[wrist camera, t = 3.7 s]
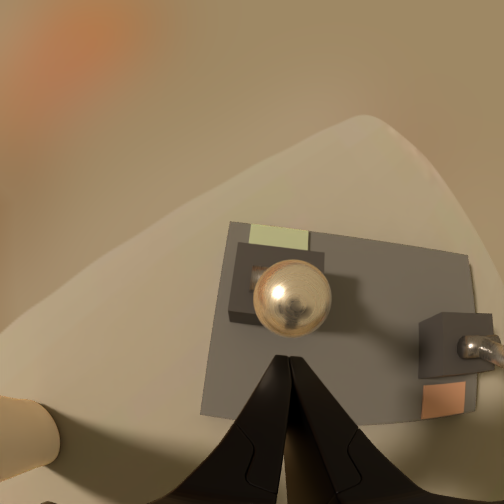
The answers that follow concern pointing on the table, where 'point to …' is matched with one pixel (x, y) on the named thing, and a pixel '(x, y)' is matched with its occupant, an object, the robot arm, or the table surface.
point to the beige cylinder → (25, 437)
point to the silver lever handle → (482, 348)
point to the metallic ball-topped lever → (290, 297)
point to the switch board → (352, 326)
